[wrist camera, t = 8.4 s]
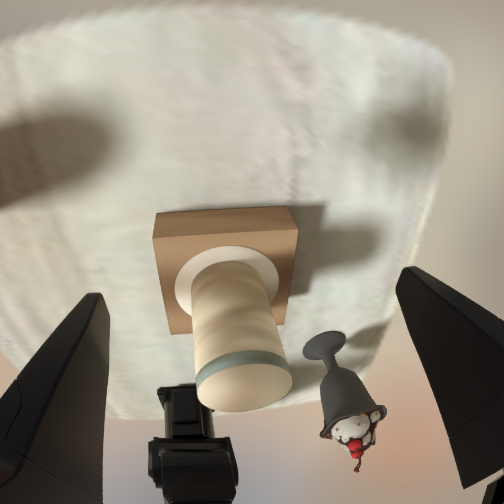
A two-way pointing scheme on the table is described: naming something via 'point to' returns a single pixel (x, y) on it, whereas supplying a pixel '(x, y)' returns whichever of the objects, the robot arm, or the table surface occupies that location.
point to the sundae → (344, 399)
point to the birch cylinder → (236, 340)
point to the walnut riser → (223, 254)
